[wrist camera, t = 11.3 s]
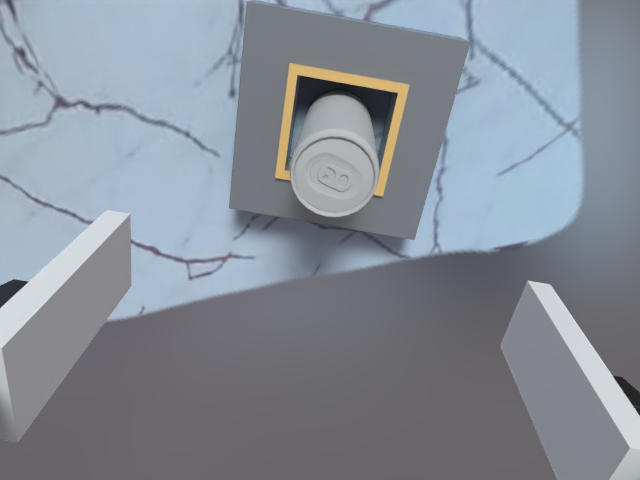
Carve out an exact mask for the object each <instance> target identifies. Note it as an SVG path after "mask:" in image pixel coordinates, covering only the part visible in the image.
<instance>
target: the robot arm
mask: <svg viewBox="0 0 640 480" xmlns="http://www.w3.org/2000/svg"><path fill="white" fill-rule="evenodd" d="M130 287H131V229H130V214H127V213H121V212H115V211H109V210H106V211H105V212H104V213H103V214H102V215H101V216H99V217H98V218H97V219H96V220H95V221H94V222H93V223H92V224H91V225H90V226H89V227H88V228H86V229H85V230H84V231H83V232H82V233H81V234H80V235H79V236H78V237H77V238H76V239H75V240H74V241H72V242H71V243H70V244H69V245H68V246H67V247H66V248H65V249H64V250H63V251H62V252H61V253H59V254H58V255H57V256H56V257H55V258H54V259H53V260H52V261H51V262H50V263H49V264H48V265H46V266H45V267H44V268H43V269H42V270H41V271H40V272H39V273H38V274H37V275H36V276H35V277H33V278H32V279H31V280H30V281H29V282H27V281H21V280H15V279H14V280H12V281H9V282H7V283H5V284H3V285H1V286H0V439H1V440H7V441H13V442H18V441H19V440H20V438H21V437H22V436H23V434H24V433H25V432H26V430H27V429H28V427H29V426H30V425H31V423H32V422H33V421H34V419H35V418H36V416H37V415H38V414H39V412H40V411H41V409H42V408H43V407H44V405H45V404H46V403H47V401H48V400H49V398H50V397H51V396H52V394H53V393H54V392H55V390H56V389H57V387H58V386H59V385H60V383H61V382H62V381H63V379H64V378H65V376H66V375H67V374H68V372H69V371H70V370H71V368H72V367H73V365H74V364H75V363H76V361H77V360H78V358H79V357H80V356H81V354H82V353H83V352H84V350H85V349H86V347H87V346H88V345H89V343H90V342H91V340H92V339H93V338H94V336H95V335H96V334H97V332H98V331H99V329H100V328H101V327H102V325H103V324H104V323H105V321H106V320H107V318H108V317H109V316H110V314H111V313H112V312H113V310H114V309H115V307H116V306H117V305H118V303H119V302H120V301H121V299H122V298H123V296H124V295H125V294H126V292H127V291H128V289H129V288H130ZM500 347H501V349H502V351H503V353H504V356H505V358H506V361H507V363H508V365H509V367H510V370H511V372H512V375H513V377H514V379H515V382H516V384H517V387H518V389H519V391H520V393H521V396H522V398H523V401H524V403H525V405H526V407H527V410H528V412H529V415H530V417H531V419H532V422H533V424H534V426H535V429H536V431H537V434H538V436H539V438H540V441H541V443H542V445H543V448H544V450H545V452H546V454H547V457H548V459H549V462H550V464H551V466H552V469H553V471H554V473H555V476H556V478H557V480H640V393H639V392H638V391H637V390H636V389H635V388H634V387H633V386H631V385H630V384H629V383H628V382H627V381H626V380H625V379H623V378H622V377H618V376H612V375H611V373H610V372H609V370H608V369H607V367H606V366H605V364H604V363H603V361H602V360H601V358H600V357H599V355H598V354H597V353H596V351H595V350H594V348H593V347H592V345H591V344H590V342H589V341H588V339H587V338H586V336H585V335H584V333H583V332H582V331H581V329H580V328H579V326H578V325H577V323H576V322H575V320H574V319H573V317H572V316H571V314H570V313H569V311H568V310H567V309H566V307H565V306H564V304H563V303H562V301H561V300H560V298H559V297H558V295H557V294H556V292H555V291H554V290H553V288H552V286H551V285H550V284H543V283H537V282H532V281H527V284H526V286H525V288H524V291H523V293H522V295H521V298H520V300H519V302H518V305H517V307H516V310H515V312H514V314H513V317H512V319H511V321H510V324H509V326H508V329H507V331H506V333H505V336H504V338H503V340H502V343H501V345H500Z"/></svg>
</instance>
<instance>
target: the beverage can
mask: <svg viewBox="0 0 640 480" xmlns="http://www.w3.org/2000/svg"><path fill="white" fill-rule="evenodd" d="M379 171H380V168H379V162H378V156H377V150H376V144H375V138H374V132H373V127H372V122H371V118H370V114H369V112H368V109H367V107H366V106H365V104H364V103H363V102H362V101H361V99H360V98H358V97H357V96H356V95H354V94H353V93H350V92H347V91H343V90H334V91H330V92H326V93H325V94H323V95H321V96H319V97H318V98H317V99H316V100H315V101H314V102H313V103H312V105H311V106H310V108H309V109H308V112H307V115H306V118H305V120H304V123H303V126H302V129H301V132H300V135H299V138H298V141H297V144H296V146H295V149H294V152H293V155H292V159H291V162H290V179H291V184H292V187H293V191H294V193H295V194H296V196H297V198H298V200H299V201H300V202H301V203H302V204H303V205H304V206H305V207H306V208H308V209H309V210H311V211H313V212H314V213H316V214H319V215H322V216H326V217H342V216H347V215H350V214H352V213H354V212H357V211H358V210H360V209H361V208H362V207H363V206H365V205H366V204H367V203H368V201H369V200H370V199H371V197H372V196H373V194H374V192H375V189H376V186H377V184H378V181H379Z"/></svg>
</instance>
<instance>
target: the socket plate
mask: <svg viewBox="0 0 640 480" xmlns="http://www.w3.org/2000/svg"><path fill="white" fill-rule="evenodd" d="M469 45H470V42H469V41H467V40H464V39H462V38H459V37H453V36H448V35H442V34H437V33H431V32H426V31H420V30H415V29H409V28H404V27H398V26H393V25H388V24H382V23H377V22H371V21H366V20H360V19H355V18H349V17H344V16H338V15H333V14H327V13H322V12H316V11H311V10H305V9H300V8H294V7H289V6H284V5H278V4H273V3H267V2H262V1H256V0H254V1H247V6H246V17H245V29H244V41H243V52H242V64H241V76H240V87H239V99H238V111H237V122H236V134H235V146H234V157H233V169H232V181H231V192H230V204H229V208H231V209H237V210H243V211H248V212H254V213H260V214H266V215H272V216H277V217H283V218H289V219H295V220H301V221H307V222H312V223H318V224H324V225H330V226H336V227H342V228H347V229H353V230H359V231H365V232H371V233H377V234H382V235H388V236H394V237H400V238H406V239H412V240H414V239H415V236H416V232H417V229H418V225H419V221H420V218H421V214H422V211H423V207H424V204H425V200H426V197H427V193H428V190H429V186H430V183H431V179H432V176H433V172H434V169H435V165H436V161H437V158H438V154H439V151H440V147H441V144H442V140H443V137H444V133H445V130H446V126H447V123H448V119H449V116H450V112H451V109H452V105H453V102H454V98H455V94H456V91H457V87H458V84H459V80H460V77H461V73H462V70H463V66H464V63H465V59H466V56H467V52H468V49H469ZM301 76H306V77H312V78H318V79H323V80H329V81H334V82H340V83H345V84H351V85H357V86H362V87H368V88H373V89H379V90H385V91H390V92H392V96H391V100H390V105H389V109H388V114H387V118H386V123H385V127H384V131H383V136H382V140H381V145H380V149H379V154H378V162H379V168H380V171H379V181H378V184H377V186H376V189H375V192H374V194H373V196H372V197H371V199H370V200H369V201H368V203H367V204H366V205H365V206H363V207H362V208H361V209H360V210H358V211H357V212H354V213H352V214H350V215H347V216H342V217H326V216H322V215H319V214H316V213H314V212H313V211H311V210H309V209H308V208H306V207H305V206H304V205H303V204H302V203H301V202H300V201H299V200H298V198H297V196H296V194H295V193H294V191H293V187H292V184H291V179H290V162H291V159H292V157H290V150H291V142H292V135H293V128H294V121H295V114H296V107H297V99H298V92H299V85H300V78H301Z"/></svg>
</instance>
